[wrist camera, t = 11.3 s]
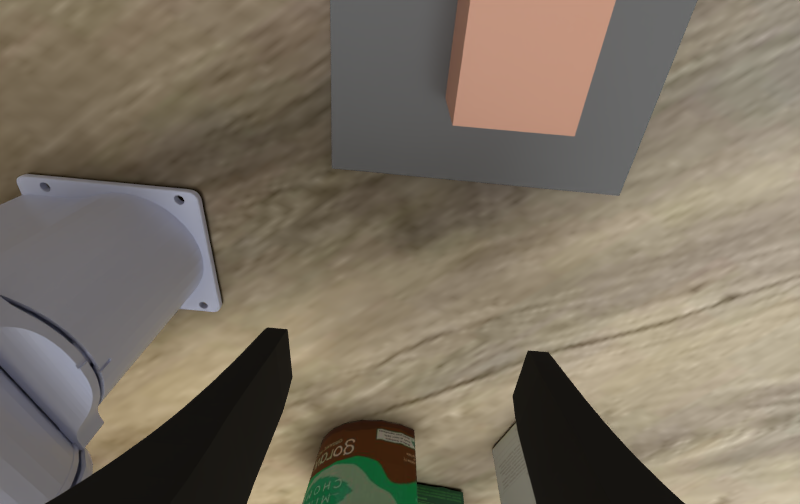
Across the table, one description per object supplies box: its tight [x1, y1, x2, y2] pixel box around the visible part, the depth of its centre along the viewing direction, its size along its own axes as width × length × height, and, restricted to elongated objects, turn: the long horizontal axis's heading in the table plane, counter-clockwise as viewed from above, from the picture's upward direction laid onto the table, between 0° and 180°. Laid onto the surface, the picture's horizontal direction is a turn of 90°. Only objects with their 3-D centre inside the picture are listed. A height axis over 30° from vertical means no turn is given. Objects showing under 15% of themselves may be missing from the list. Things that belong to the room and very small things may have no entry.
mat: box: [330, 0, 697, 196], centre depth 16 cm, size 14×12×1 cm
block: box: [445, 0, 616, 136], centre depth 14 cm, size 4×4×5 cm
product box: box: [492, 423, 536, 504], centre depth 27 cm, size 6×6×7 cm
